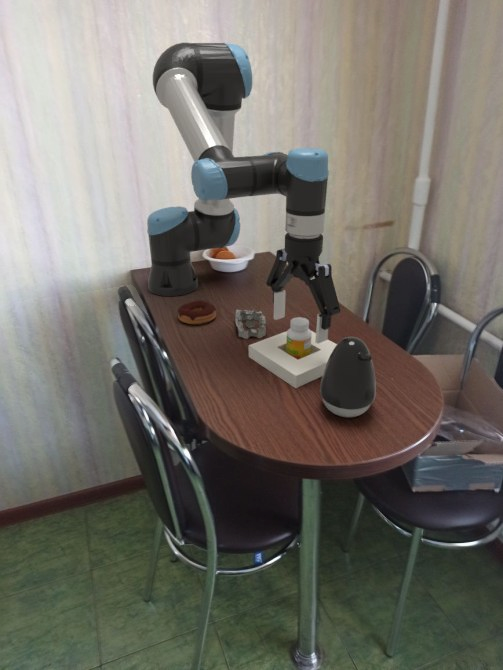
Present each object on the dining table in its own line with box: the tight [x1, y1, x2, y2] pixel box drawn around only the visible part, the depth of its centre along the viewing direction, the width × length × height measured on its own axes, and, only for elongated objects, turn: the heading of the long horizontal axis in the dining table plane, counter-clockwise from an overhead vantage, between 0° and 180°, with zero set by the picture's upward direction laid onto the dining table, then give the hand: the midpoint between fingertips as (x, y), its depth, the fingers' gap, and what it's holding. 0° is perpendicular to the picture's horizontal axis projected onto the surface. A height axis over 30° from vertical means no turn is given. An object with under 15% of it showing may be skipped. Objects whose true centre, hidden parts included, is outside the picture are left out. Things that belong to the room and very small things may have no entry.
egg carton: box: [235, 309, 267, 339], centre depth 120 cm, size 11×8×4 cm
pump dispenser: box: [319, 336, 377, 418], centre depth 87 cm, size 10×10×15 cm
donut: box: [177, 300, 217, 325], centre depth 125 cm, size 10×10×4 cm
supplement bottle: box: [286, 316, 312, 360], centre depth 104 cm, size 5×5×10 cm
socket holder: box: [248, 329, 338, 389], centre depth 106 cm, size 16×16×3 cm
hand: (299, 329), depth 103 cm, fingers open, 13 cm apart
